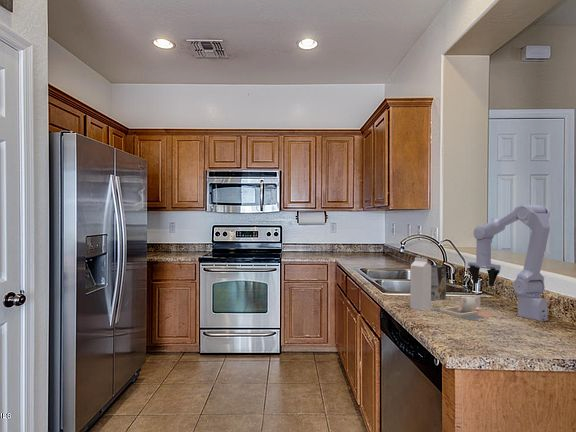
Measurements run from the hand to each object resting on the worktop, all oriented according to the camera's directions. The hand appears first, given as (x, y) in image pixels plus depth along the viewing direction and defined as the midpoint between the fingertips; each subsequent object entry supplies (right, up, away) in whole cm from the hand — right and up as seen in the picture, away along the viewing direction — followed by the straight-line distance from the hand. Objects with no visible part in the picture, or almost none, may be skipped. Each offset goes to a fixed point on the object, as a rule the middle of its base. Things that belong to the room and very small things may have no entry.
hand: (483, 284), depth 172 cm
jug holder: (-15, -9, -16) cm, 24 cm away
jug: (-13, -8, -15) cm, 21 cm away
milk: (-31, -9, -10) cm, 34 cm away
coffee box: (-16, -10, +12) cm, 22 cm away
